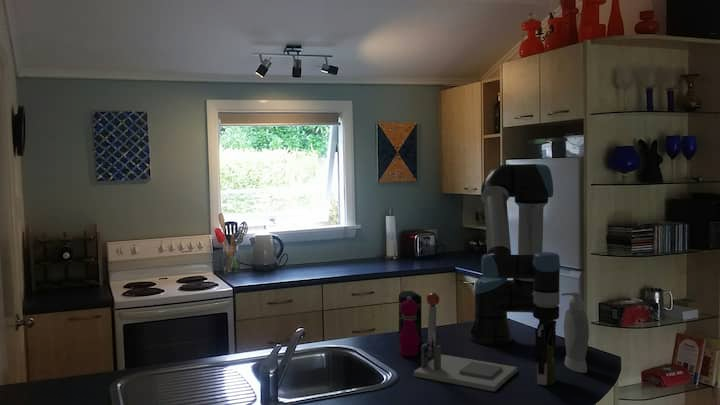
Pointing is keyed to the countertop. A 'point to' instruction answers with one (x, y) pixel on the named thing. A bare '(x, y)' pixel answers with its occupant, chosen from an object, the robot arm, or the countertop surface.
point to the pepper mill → (409, 328)
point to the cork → (549, 366)
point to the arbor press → (463, 371)
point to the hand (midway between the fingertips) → (545, 380)
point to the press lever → (431, 324)
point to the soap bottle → (576, 334)
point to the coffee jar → (417, 299)
